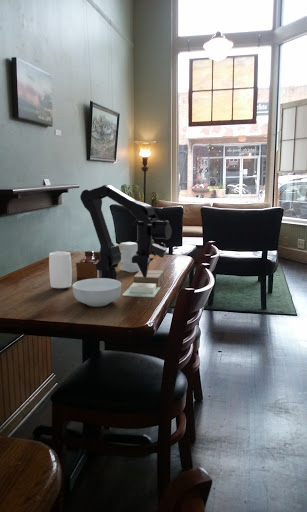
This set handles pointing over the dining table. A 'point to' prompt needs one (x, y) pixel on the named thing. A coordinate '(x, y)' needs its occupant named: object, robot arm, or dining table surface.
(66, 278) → the cup
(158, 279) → the brown flat wooden block
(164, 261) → the dining table surface
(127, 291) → the mat
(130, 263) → the small box
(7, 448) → the dining table surface
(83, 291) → the cereal bowl
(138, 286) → the white rectangular block
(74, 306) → the dining table surface
